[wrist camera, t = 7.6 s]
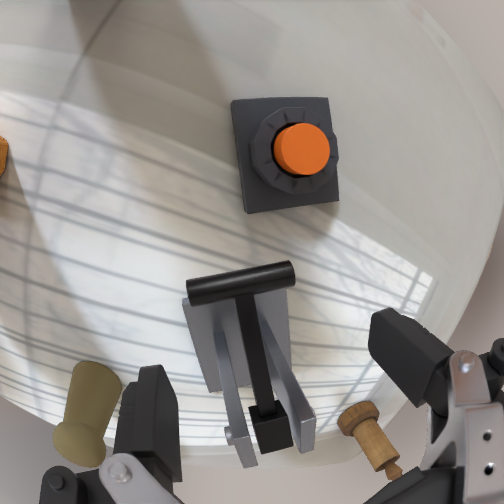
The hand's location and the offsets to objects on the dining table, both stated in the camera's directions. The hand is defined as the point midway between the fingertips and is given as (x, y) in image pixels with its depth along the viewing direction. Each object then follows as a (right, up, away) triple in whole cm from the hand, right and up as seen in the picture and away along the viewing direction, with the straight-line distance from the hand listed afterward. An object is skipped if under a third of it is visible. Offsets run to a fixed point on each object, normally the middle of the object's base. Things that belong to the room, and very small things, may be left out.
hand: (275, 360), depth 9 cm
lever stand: (-2, -5, +16) cm, 17 cm away
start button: (+2, +11, +10) cm, 15 cm away
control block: (+2, +12, +12) cm, 17 cm away
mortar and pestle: (+15, -21, +26) cm, 37 cm away
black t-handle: (-1, -3, +7) cm, 8 cm away
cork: (-18, -10, +15) cm, 26 cm away
